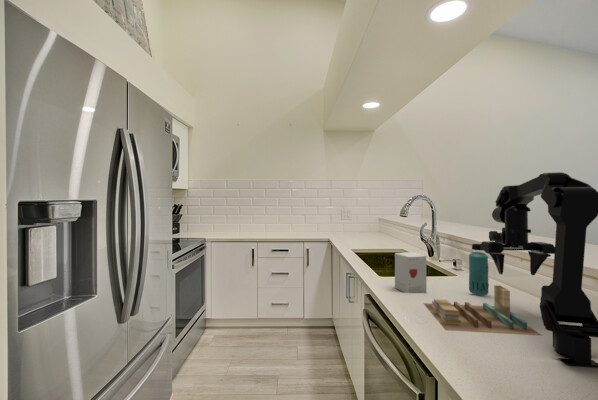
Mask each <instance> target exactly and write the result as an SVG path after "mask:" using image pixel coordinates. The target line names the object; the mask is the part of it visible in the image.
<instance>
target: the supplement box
mask: <svg viewBox="0 0 598 400" xmlns="http://www.w3.org/2000/svg"><path fill="white" fill-rule="evenodd" d="M394 288H395V289H397V290H398V291H400V292H403V293H405V294H406V293H407V294H426V293H427V255H425V254H422V253H418V252H416V251H415V252H414V251H412V252H411V251H408V252H404V251H403V252H395V253H394Z"/></svg>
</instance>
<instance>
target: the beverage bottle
mask: <svg viewBox="0 0 598 400" xmlns="http://www.w3.org/2000/svg"><path fill="white" fill-rule="evenodd" d="M480 245H481V243H472V245H471V250H474V251H473V252H471V253H469V254H468V271H469V272H468V273H469V275H468V291H469V292H470V294H471V293H472V294H473V295H474V294H475V295H480V296H486V295H489V288H490V286H489V285H490V284H489V280H490V277H489V260H488V259H489V256H488V255H487V253H486V252H485V253H484V252H479V251H481V250H480Z"/></svg>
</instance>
